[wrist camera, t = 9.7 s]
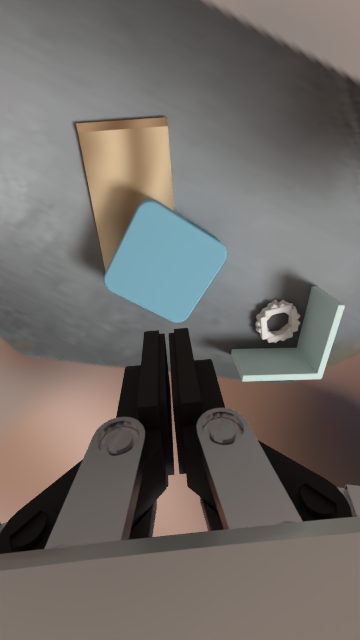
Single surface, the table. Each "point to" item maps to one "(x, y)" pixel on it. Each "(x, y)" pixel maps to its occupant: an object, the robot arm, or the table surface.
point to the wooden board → (124, 173)
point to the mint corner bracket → (311, 343)
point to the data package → (164, 262)
